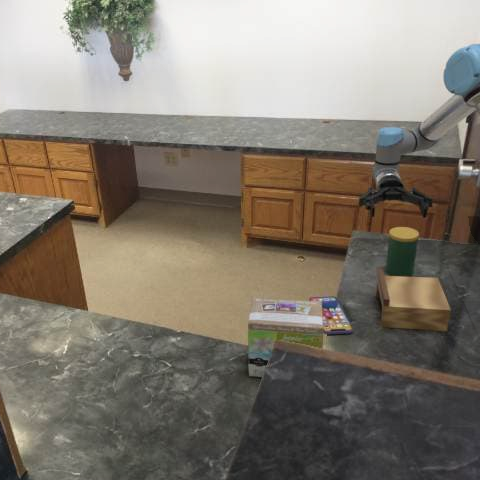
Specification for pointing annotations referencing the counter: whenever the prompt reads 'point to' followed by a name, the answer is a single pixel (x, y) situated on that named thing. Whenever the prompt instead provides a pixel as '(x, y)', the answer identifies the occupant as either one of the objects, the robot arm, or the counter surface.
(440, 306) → the wooden block
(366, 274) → the counter surface
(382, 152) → the robot arm
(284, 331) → the tea box
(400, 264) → the tea tin
